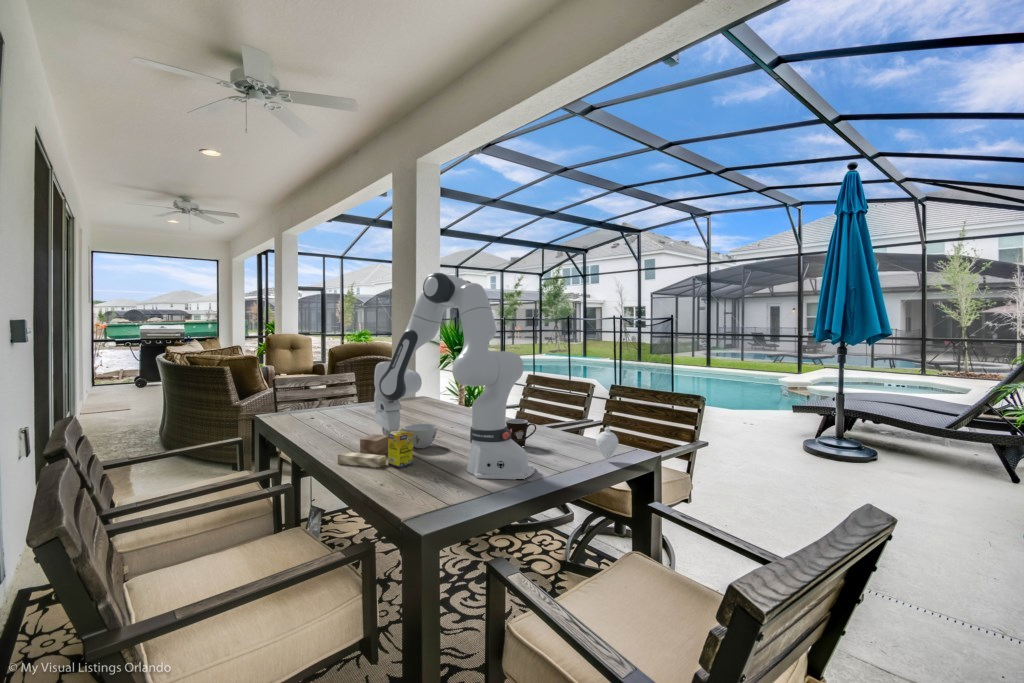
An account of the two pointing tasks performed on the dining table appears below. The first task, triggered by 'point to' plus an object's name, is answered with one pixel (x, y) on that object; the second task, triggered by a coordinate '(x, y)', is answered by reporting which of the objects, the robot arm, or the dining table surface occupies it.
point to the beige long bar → (361, 459)
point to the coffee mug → (519, 430)
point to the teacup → (422, 434)
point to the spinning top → (607, 442)
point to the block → (374, 444)
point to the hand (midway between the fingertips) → (386, 438)
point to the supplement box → (400, 449)
